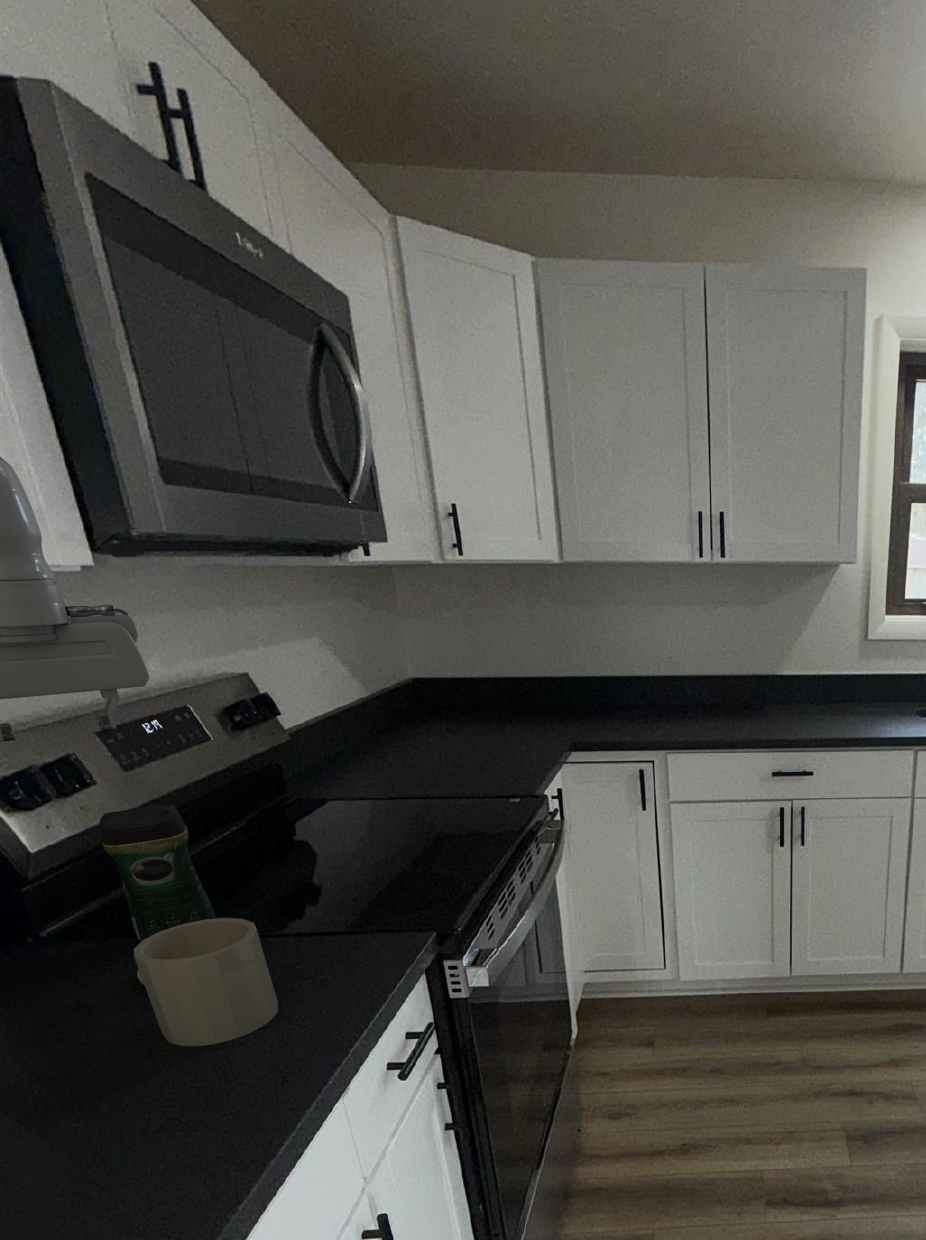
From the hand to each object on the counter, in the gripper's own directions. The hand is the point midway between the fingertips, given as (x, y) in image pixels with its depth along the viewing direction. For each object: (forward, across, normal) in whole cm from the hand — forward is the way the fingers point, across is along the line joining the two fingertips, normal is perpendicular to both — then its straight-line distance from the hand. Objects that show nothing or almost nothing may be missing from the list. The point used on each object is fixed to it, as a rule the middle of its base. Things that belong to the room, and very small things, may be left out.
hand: (59, 734), depth 97 cm
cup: (+31, -4, +22) cm, 38 cm away
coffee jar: (+31, -6, -10) cm, 33 cm away
